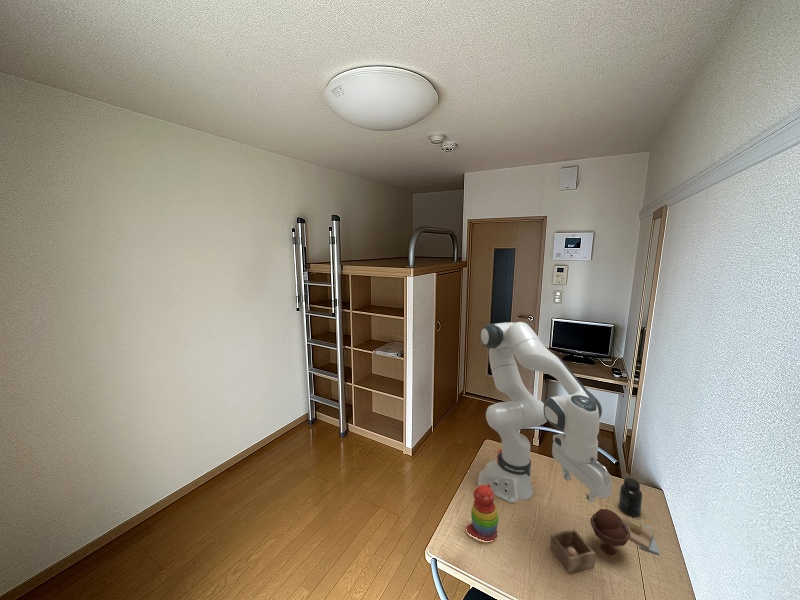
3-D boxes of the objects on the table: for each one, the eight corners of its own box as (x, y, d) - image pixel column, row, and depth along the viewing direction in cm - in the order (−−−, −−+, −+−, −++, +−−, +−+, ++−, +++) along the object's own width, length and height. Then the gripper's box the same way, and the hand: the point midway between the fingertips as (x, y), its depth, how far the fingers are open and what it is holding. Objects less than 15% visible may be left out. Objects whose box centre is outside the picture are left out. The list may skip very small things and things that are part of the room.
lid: (648, 550, 105) (649, 538, 104) (616, 533, 111) (617, 522, 111) (654, 533, 111) (655, 522, 110) (623, 518, 117) (624, 508, 117)
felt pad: (618, 541, 109) (618, 539, 109) (614, 517, 119) (614, 516, 118) (659, 554, 104) (659, 553, 104) (651, 528, 113) (651, 527, 113)
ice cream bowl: (629, 573, 98) (633, 530, 96) (587, 556, 104) (590, 515, 102) (627, 546, 107) (630, 507, 105) (588, 532, 113) (591, 494, 111)
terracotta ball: (565, 559, 102) (566, 550, 102) (566, 551, 105) (566, 542, 105) (577, 563, 101) (577, 555, 100) (577, 555, 104) (577, 546, 103)
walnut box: (569, 576, 98) (570, 559, 97) (550, 550, 106) (550, 534, 106) (594, 569, 100) (595, 553, 99) (573, 544, 108) (573, 528, 107)
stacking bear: (479, 514, 122) (479, 472, 119) (503, 530, 114) (504, 486, 112) (463, 532, 114) (463, 488, 111) (488, 550, 107) (489, 503, 104)
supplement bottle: (644, 519, 118) (647, 489, 116) (623, 516, 119) (626, 487, 117) (634, 504, 124) (637, 477, 123) (615, 502, 126) (617, 475, 124)
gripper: (619, 469, 88) (615, 513, 90) (565, 430, 108) (563, 467, 110) (600, 473, 87) (597, 517, 89) (549, 433, 107) (547, 470, 109)
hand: (578, 489), depth 100 cm, fingers open, 8 cm apart
